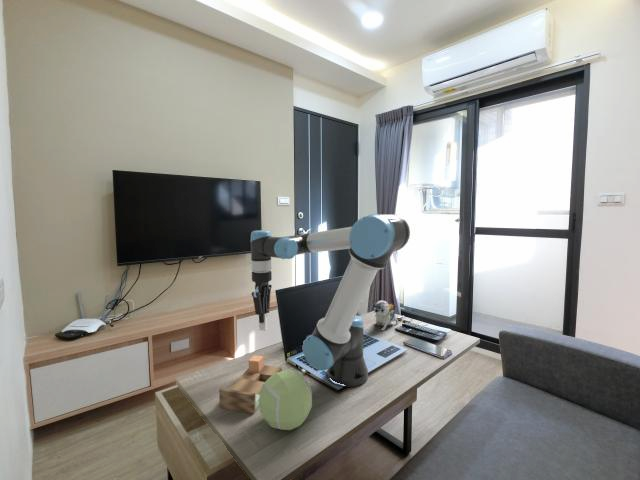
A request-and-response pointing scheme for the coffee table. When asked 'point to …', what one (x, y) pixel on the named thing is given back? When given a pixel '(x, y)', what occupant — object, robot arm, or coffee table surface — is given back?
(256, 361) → the cube
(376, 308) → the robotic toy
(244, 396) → the wooden box
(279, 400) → the decorative sphere
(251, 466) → the coffee table surface
